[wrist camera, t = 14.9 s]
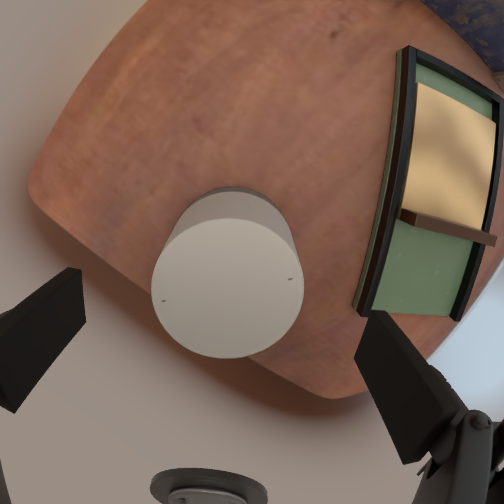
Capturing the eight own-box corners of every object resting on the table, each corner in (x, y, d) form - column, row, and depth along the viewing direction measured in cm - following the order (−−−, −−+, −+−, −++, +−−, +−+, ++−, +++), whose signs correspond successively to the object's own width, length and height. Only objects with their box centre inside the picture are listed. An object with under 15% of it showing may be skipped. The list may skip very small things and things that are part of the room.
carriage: (472, 237, 28) (494, 247, 24) (393, 217, 27) (414, 227, 23) (489, 123, 24) (513, 122, 20) (412, 84, 23) (434, 75, 19)
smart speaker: (275, 175, 27) (305, 188, 13) (290, 269, 29) (325, 355, 16) (173, 196, 27) (110, 229, 13) (196, 286, 30) (164, 379, 16)
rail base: (450, 312, 32) (460, 321, 29) (351, 306, 31) (359, 317, 28) (492, 101, 24) (505, 99, 21) (396, 51, 23) (407, 44, 20)
